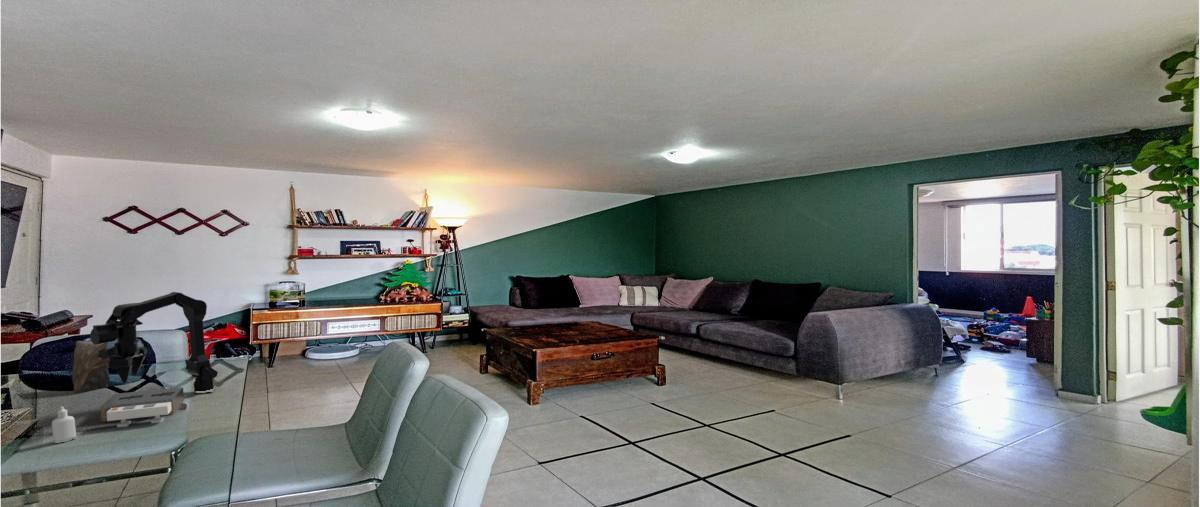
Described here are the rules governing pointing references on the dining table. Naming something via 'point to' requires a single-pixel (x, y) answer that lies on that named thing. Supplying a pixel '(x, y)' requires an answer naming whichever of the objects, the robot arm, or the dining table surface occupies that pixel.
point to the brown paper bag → (89, 367)
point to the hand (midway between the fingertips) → (129, 378)
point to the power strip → (139, 413)
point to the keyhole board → (144, 399)
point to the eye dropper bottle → (63, 425)
